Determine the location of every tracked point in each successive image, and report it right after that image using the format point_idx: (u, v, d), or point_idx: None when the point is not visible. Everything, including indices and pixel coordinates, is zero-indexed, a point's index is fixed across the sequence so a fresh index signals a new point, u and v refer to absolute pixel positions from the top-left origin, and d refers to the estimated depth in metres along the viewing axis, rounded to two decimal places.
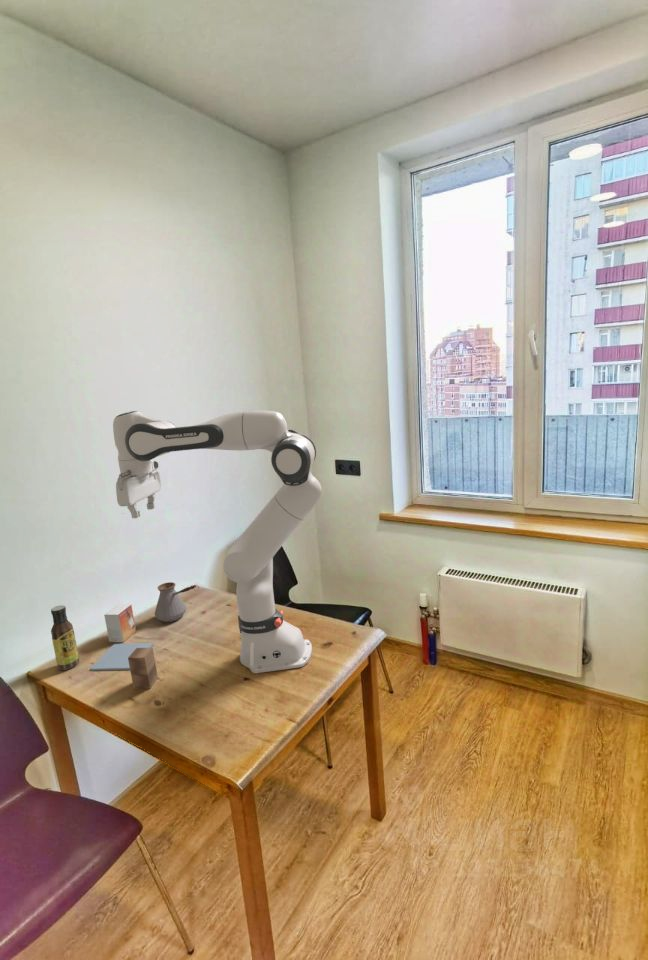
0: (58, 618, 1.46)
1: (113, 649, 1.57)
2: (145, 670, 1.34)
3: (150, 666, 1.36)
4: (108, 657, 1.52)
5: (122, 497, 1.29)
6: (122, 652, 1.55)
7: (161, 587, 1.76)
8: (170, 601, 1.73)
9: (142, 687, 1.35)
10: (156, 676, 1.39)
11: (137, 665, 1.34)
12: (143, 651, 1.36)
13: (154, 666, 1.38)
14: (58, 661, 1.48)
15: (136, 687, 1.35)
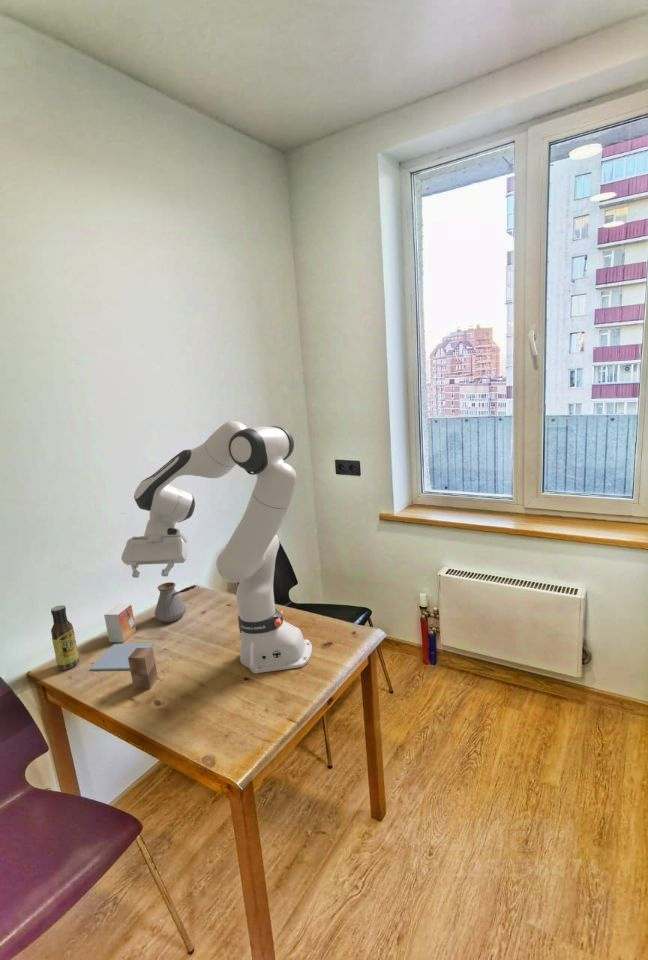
0: (58, 618, 1.46)
1: (113, 649, 1.57)
2: (145, 670, 1.34)
3: (150, 666, 1.36)
4: (108, 657, 1.52)
5: None
6: (122, 652, 1.55)
7: (161, 587, 1.76)
8: (170, 601, 1.73)
9: (142, 687, 1.35)
10: (156, 676, 1.39)
11: (137, 665, 1.34)
12: (143, 651, 1.36)
13: (154, 666, 1.38)
14: (58, 661, 1.48)
15: (136, 687, 1.35)
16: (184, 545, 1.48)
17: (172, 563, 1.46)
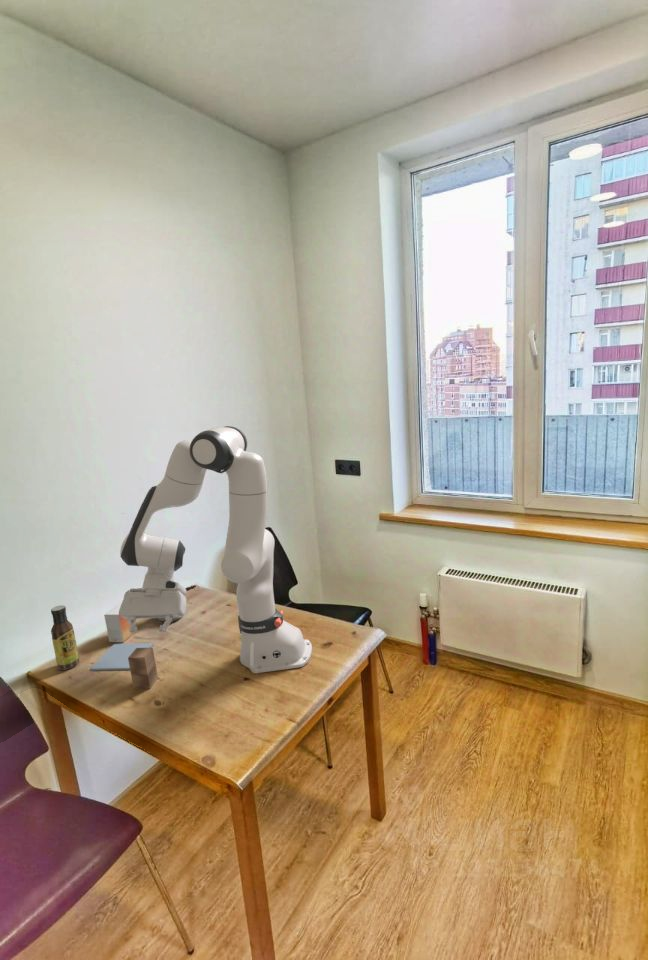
0: (58, 618, 1.46)
1: (113, 649, 1.57)
2: (145, 670, 1.34)
3: (150, 666, 1.36)
4: (108, 657, 1.52)
5: None
6: (122, 652, 1.55)
7: None
8: None
9: (142, 687, 1.35)
10: (156, 676, 1.39)
11: (137, 665, 1.34)
12: (143, 651, 1.36)
13: (154, 666, 1.38)
14: (58, 661, 1.48)
15: (136, 687, 1.35)
16: (183, 599, 1.44)
17: (170, 618, 1.42)
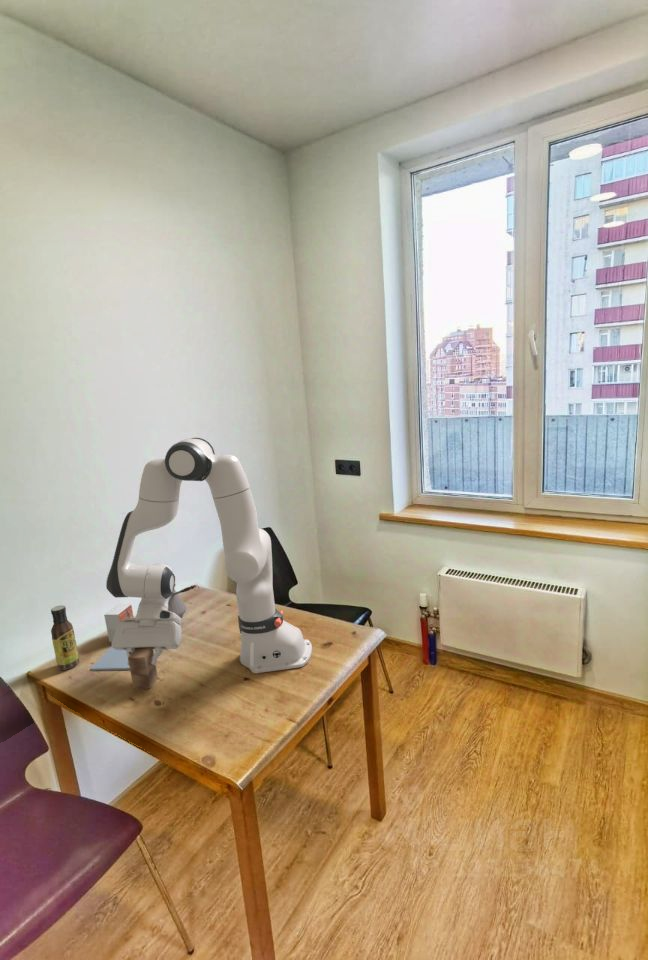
0: (58, 618, 1.46)
1: (113, 649, 1.57)
2: (145, 670, 1.34)
3: (150, 666, 1.36)
4: (108, 657, 1.52)
5: None
6: (122, 652, 1.55)
7: None
8: (170, 601, 1.73)
9: (142, 687, 1.35)
10: (156, 676, 1.39)
11: (137, 665, 1.34)
12: (143, 651, 1.36)
13: (154, 666, 1.38)
14: (58, 661, 1.48)
15: (136, 687, 1.35)
16: (178, 629, 1.39)
17: (160, 650, 1.37)
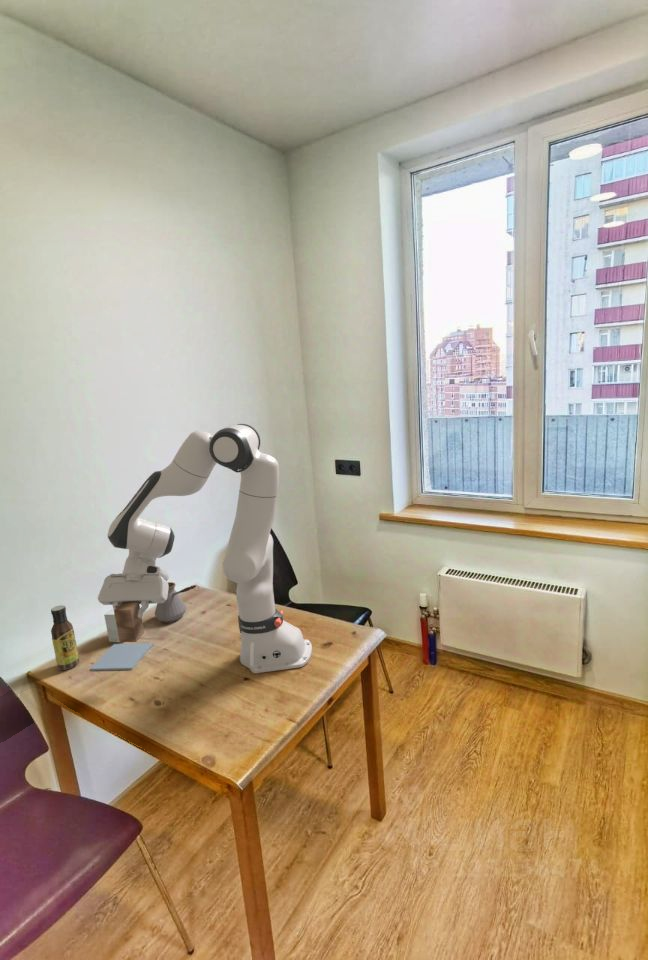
0: (58, 618, 1.46)
1: (113, 649, 1.57)
2: (131, 623, 1.34)
3: (136, 620, 1.36)
4: (108, 657, 1.52)
5: None
6: (122, 652, 1.55)
7: None
8: (170, 601, 1.73)
9: (128, 640, 1.35)
10: (142, 631, 1.39)
11: (123, 618, 1.34)
12: (130, 605, 1.36)
13: (140, 620, 1.38)
14: (58, 661, 1.48)
15: (122, 640, 1.35)
16: (165, 584, 1.39)
17: (147, 604, 1.37)
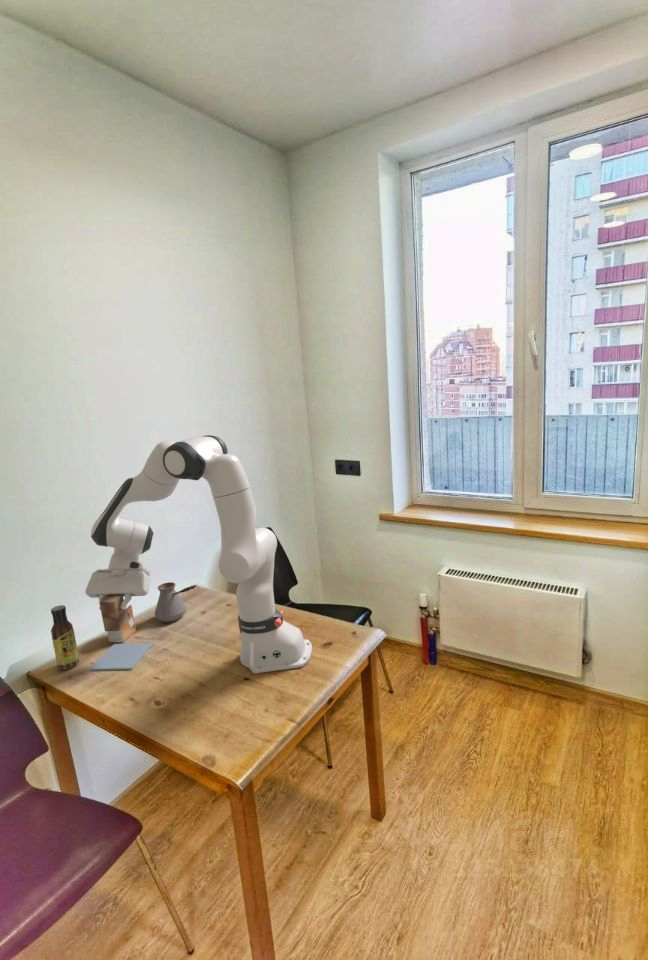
0: (58, 618, 1.46)
1: (113, 649, 1.57)
2: (115, 613, 1.47)
3: (119, 611, 1.49)
4: (108, 657, 1.52)
5: None
6: (122, 652, 1.55)
7: (161, 587, 1.76)
8: (170, 601, 1.73)
9: (112, 629, 1.48)
10: (126, 621, 1.52)
11: (107, 609, 1.47)
12: (114, 597, 1.49)
13: (124, 611, 1.51)
14: (58, 661, 1.48)
15: (107, 629, 1.49)
16: (146, 578, 1.53)
17: (129, 596, 1.51)
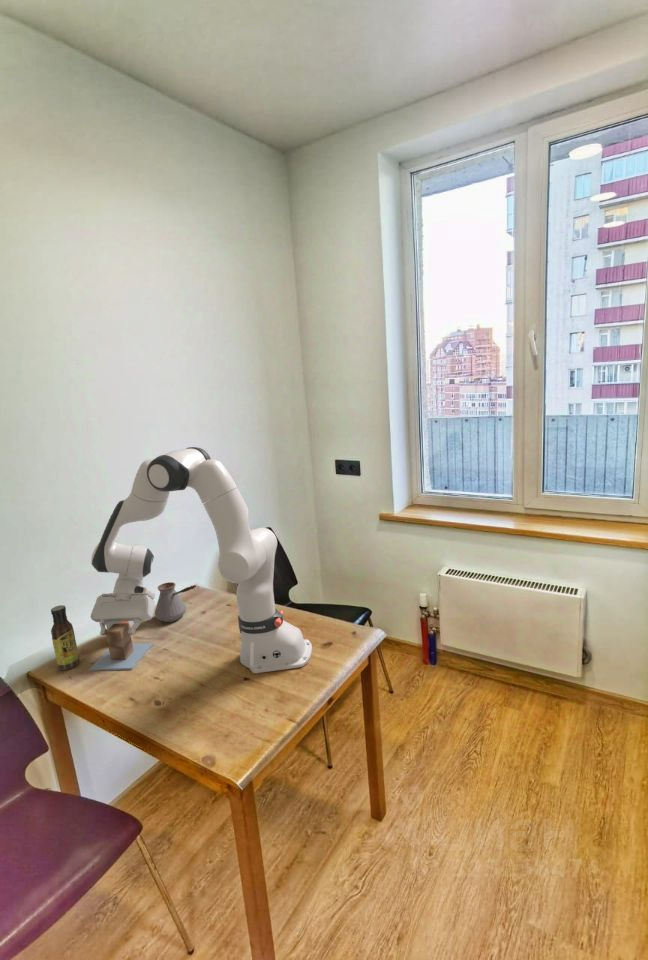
0: (58, 618, 1.46)
1: None
2: (121, 643, 1.49)
3: (125, 640, 1.51)
4: (108, 657, 1.52)
5: None
6: None
7: (161, 587, 1.76)
8: (170, 601, 1.73)
9: (118, 658, 1.50)
10: (132, 649, 1.54)
11: (113, 638, 1.49)
12: (120, 626, 1.51)
13: (130, 640, 1.53)
14: (58, 661, 1.48)
15: (113, 658, 1.51)
16: (150, 603, 1.54)
17: (139, 621, 1.52)
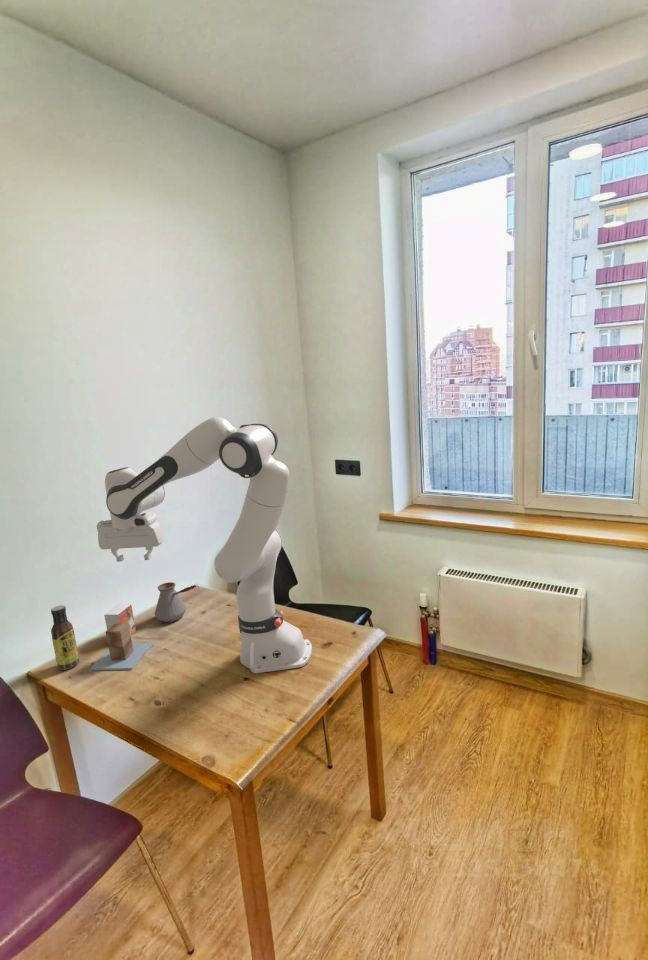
0: (58, 618, 1.46)
1: None
2: (121, 643, 1.49)
3: (125, 640, 1.51)
4: (108, 657, 1.52)
5: None
6: None
7: (161, 587, 1.76)
8: (170, 601, 1.73)
9: (118, 658, 1.50)
10: (132, 649, 1.54)
11: (113, 638, 1.49)
12: (120, 626, 1.51)
13: (130, 640, 1.53)
14: (58, 661, 1.48)
15: (113, 658, 1.51)
16: (156, 530, 1.47)
17: (151, 547, 1.49)
